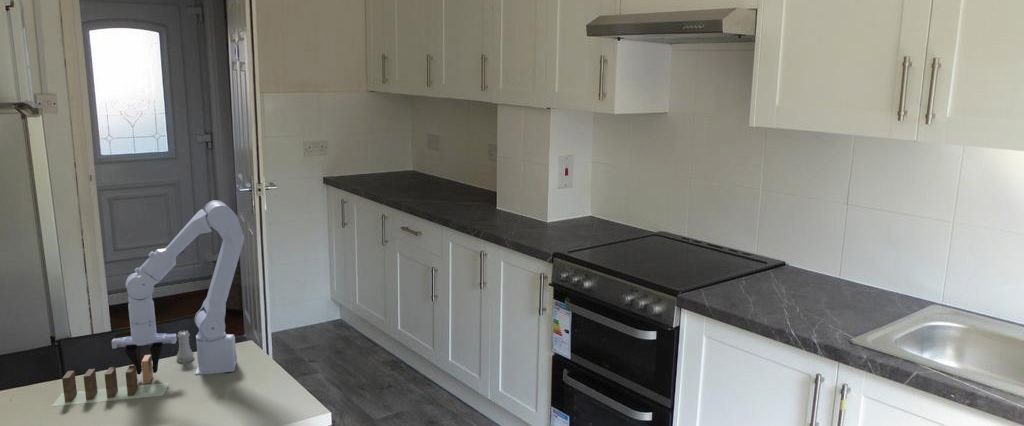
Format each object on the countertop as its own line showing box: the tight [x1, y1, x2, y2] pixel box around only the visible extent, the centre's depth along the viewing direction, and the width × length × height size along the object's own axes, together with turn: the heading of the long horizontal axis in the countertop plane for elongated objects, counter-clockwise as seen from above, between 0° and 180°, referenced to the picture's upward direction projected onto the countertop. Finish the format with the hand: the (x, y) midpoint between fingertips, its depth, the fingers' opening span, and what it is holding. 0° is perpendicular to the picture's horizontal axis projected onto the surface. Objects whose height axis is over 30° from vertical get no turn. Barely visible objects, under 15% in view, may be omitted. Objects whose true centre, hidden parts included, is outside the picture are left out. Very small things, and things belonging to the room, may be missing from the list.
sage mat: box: [51, 382, 170, 407], centre depth 183 cm, size 24×8×1 cm, turn 105°
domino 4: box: [124, 364, 139, 396], centre depth 183 cm, size 1×4×6 cm, turn 15°
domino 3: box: [104, 366, 119, 398], centre depth 182 cm, size 1×4×6 cm, turn 14°
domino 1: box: [61, 370, 77, 402], centre depth 180 cm, size 1×4×6 cm, turn 14°
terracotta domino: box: [141, 354, 154, 384], centre depth 191 cm, size 1×4×6 cm, turn 15°
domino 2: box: [83, 368, 98, 400], centre depth 181 cm, size 1×4×6 cm, turn 15°
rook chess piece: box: [176, 330, 195, 363], centre depth 204 cm, size 4×4×8 cm
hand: (147, 372), depth 191 cm, fingers open, 3 cm apart
